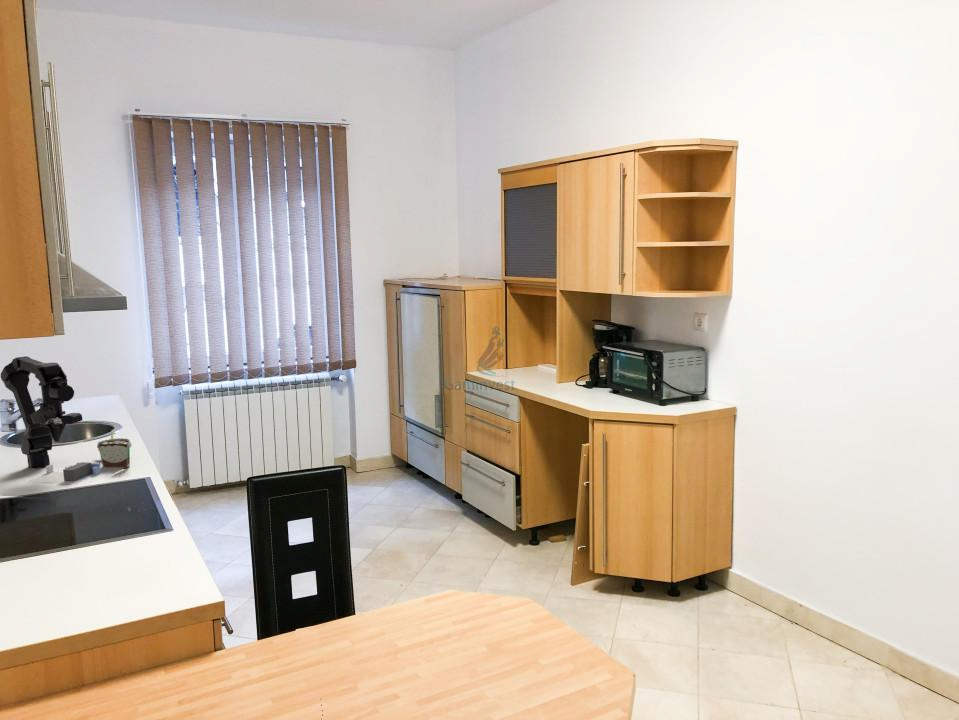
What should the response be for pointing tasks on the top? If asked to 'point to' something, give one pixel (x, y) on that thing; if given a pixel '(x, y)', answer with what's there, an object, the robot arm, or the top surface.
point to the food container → (115, 452)
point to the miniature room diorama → (59, 476)
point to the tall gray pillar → (77, 471)
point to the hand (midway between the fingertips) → (56, 441)
